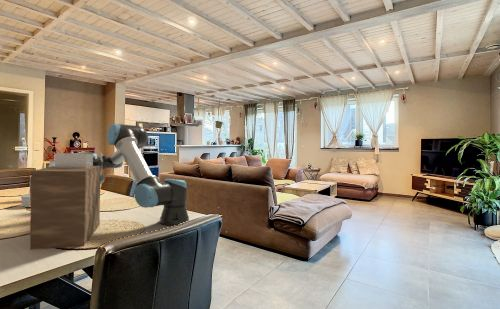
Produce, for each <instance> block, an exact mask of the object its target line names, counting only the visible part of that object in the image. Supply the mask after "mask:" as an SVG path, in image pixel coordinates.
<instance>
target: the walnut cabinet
mask: <svg viewBox="0 0 500 309" xmlns="http://www.w3.org/2000/svg"><path fill="white" fill-rule="evenodd" d="M100 175H101V166H91V167H88V168H54V166H52V167H49V166H48V167H43V168H39V169H35V170H31V171H30V194H31V208H30V231H29V232H30V234H29V235H30V237H29V238H30V239H29V241H30V242H29V247H30V248H29V250H31V251H32V250H42V249H45V250H46V249H59V248H68V247H69V248H70V247H72V248H73V246H74V247H84V246H86V244H87V242H88V241H89V240H90V239H91V237H92V236H93V235H94V234H95V232H96V231H97V230H98V228H99V227H100V214H101V208H100V207H101V184H100Z"/></svg>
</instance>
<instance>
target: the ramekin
mask: <svg viewBox="0 0 500 309" xmlns="http://www.w3.org/2000/svg"><path fill="white" fill-rule="evenodd" d="M30 194H31V193H27V194H22V195H21V196H20V199H21V205H22V207H23V208H26V207H29V206H30V197H29V195H30Z"/></svg>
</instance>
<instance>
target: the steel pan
mask: <svg viewBox="0 0 500 309" xmlns="http://www.w3.org/2000/svg"><path fill="white" fill-rule="evenodd" d="M93 153H94V152H93V151H83V152H75V153H74V152H73V153H71V152H62V153H61V152H60V153H55V154H54V159H55V166H54V168H88V167H91V166H93Z"/></svg>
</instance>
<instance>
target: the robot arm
mask: <svg viewBox="0 0 500 309" xmlns="http://www.w3.org/2000/svg"><path fill="white" fill-rule="evenodd" d="M148 140H149V135H148V132H147V130H145V129H144V128H143V127H142V126H139V125H132V124H123V123H113V124H111V125H109V127H108V129H107V132H106V142H107V144H109V145H111V146H114V147H115V149H116V151H115V152H114V153H113V154H112V155H110V156H105V155H104V154H103V152H102V151H99V156H98V154H97V153H94V152H93V166H101V175H100V185H101V184H103V183H104V182H105V175H104V172H103V170H105V169H118V168H119V169H120V168H121V167H122V166H123V164H124V162H126V164H127V166H128V168H129V170H130V172H131V174H132V176H133V178H134V180H135V182H136V184H135V188H134V191H133V193H134V199H135V201H136V203H137V205H139V206H140V207H141V208H145V209H146V208H147V209H148V208H154V207H159V206H163V209H162V211H161V216H160V217H159V223H160V224H161V225H164V226H178V225H177V224H180V223H183V222H186V221H189V222H190V218H189V215H188V211H187V192H188V191H187V182H186V180H184V179H176V178H175V179H174V178H165V179H164V181H160V179H159V178H158V175H157V176H156V175H153V173H152V171H151V169H150V167H149V166H148V164H147V162H146V160H145V158H144V156H143V154H142V153H141V151H140V149H142V148H144V146H146V145H147V142H148ZM70 153H74V151H73V150H70Z"/></svg>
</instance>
